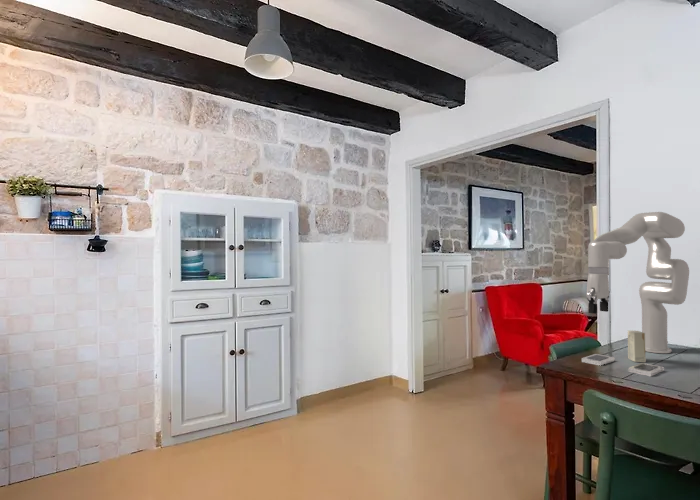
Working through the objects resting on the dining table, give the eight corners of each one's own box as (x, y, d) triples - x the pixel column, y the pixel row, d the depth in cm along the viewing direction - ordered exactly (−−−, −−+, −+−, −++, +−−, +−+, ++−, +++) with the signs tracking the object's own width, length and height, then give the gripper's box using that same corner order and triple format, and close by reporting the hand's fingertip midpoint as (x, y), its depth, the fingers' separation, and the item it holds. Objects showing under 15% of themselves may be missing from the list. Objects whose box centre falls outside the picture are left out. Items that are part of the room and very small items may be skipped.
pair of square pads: (595, 357, 183) (595, 353, 183) (663, 370, 162) (663, 366, 162) (581, 361, 176) (581, 357, 176) (650, 376, 156) (650, 371, 156)
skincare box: (646, 362, 174) (646, 333, 174) (634, 362, 175) (634, 332, 175) (638, 358, 180) (638, 330, 180) (627, 358, 181) (627, 329, 181)
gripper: (599, 270, 184) (598, 309, 184) (578, 271, 174) (578, 312, 174) (617, 271, 178) (617, 311, 178) (598, 272, 168) (598, 315, 168)
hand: (598, 312), depth 176 cm, fingers open, 9 cm apart
